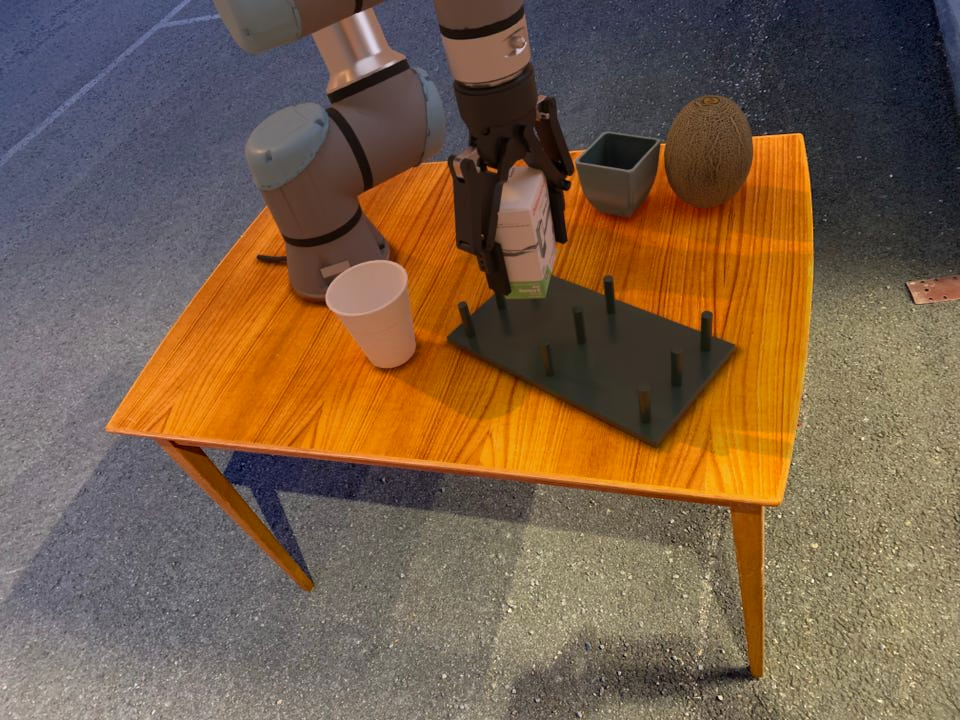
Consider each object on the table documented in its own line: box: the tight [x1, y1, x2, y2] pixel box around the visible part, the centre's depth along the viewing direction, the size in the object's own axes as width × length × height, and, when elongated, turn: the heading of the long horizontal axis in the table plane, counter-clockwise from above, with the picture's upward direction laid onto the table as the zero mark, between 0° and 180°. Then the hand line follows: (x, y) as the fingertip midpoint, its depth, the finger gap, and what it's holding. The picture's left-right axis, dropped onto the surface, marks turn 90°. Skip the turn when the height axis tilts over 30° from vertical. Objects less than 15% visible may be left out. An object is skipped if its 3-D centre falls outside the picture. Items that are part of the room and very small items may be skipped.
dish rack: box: [445, 274, 737, 449], centre depth 80 cm, size 30×16×6 cm, turn 48°
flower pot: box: [574, 131, 662, 218], centre depth 97 cm, size 9×9×9 cm
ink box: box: [495, 166, 558, 299], centre depth 76 cm, size 9×5×12 cm, turn 167°
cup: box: [325, 260, 417, 369], centre depth 84 cm, size 10×10×11 cm
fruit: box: [663, 94, 754, 209], centre depth 92 cm, size 11×11×15 cm
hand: (529, 264), depth 79 cm, fingers closed on ink box, 9 cm apart
